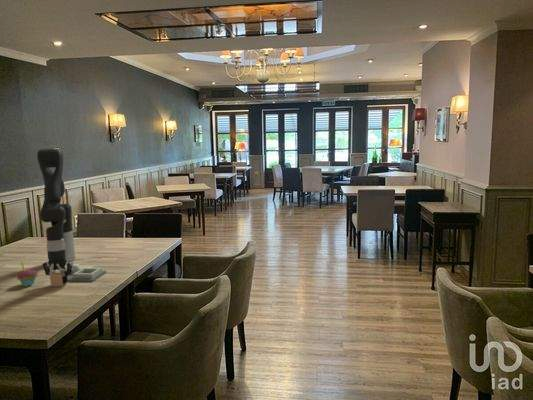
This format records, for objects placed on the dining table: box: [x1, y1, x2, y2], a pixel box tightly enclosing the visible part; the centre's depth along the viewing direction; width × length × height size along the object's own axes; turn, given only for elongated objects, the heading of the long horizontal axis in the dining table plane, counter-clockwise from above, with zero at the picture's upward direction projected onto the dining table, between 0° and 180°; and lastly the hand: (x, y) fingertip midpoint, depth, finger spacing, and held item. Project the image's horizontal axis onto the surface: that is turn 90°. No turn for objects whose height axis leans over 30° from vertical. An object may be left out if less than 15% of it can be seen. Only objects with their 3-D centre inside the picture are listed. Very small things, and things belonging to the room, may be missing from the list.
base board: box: [67, 263, 107, 283], centre depth 201 cm, size 18×14×5 cm
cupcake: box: [16, 261, 39, 287], centre depth 191 cm, size 9×8×12 cm
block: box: [49, 270, 66, 287], centre depth 190 cm, size 5×5×6 cm
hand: (59, 283), depth 190 cm, fingers closed on block, 5 cm apart
